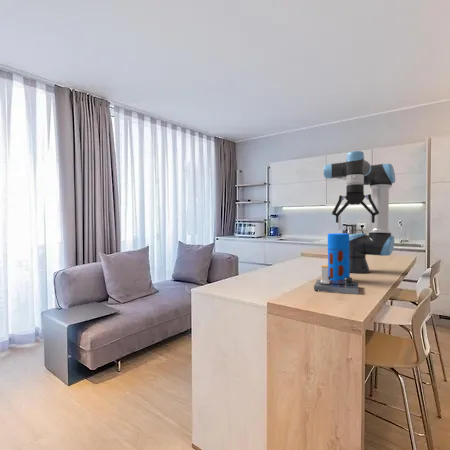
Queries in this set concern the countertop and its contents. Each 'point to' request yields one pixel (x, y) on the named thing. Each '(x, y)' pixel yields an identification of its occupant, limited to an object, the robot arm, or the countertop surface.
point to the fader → (325, 275)
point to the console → (338, 286)
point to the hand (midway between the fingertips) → (354, 230)
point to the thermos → (338, 256)
